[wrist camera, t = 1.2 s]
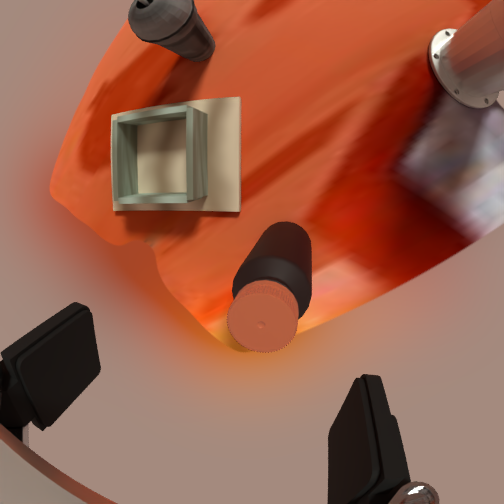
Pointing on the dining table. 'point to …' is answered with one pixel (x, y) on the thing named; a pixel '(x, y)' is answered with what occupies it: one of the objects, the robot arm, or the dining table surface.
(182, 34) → the beverage cup
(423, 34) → the dining table surface
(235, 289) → the vinegar
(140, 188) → the bottle caddy
